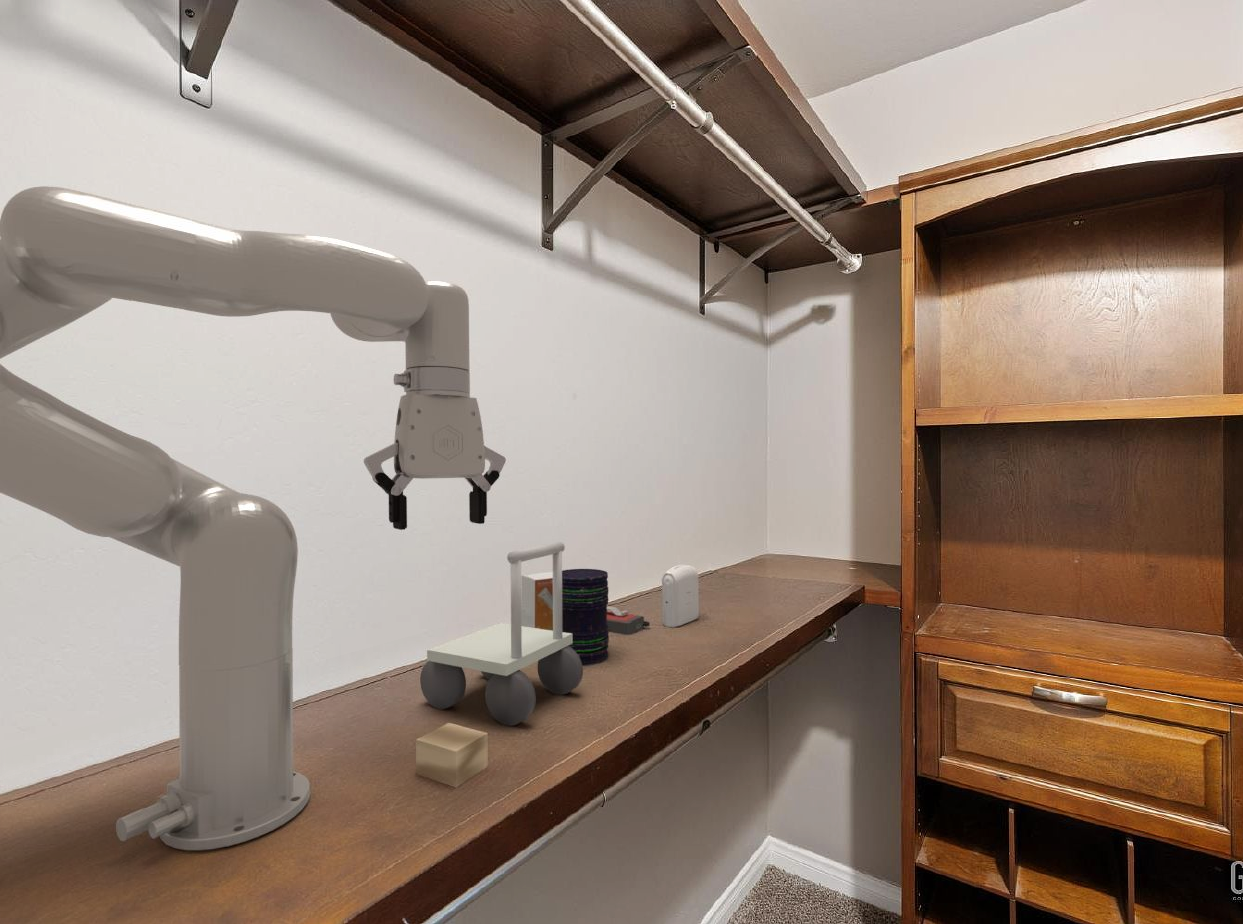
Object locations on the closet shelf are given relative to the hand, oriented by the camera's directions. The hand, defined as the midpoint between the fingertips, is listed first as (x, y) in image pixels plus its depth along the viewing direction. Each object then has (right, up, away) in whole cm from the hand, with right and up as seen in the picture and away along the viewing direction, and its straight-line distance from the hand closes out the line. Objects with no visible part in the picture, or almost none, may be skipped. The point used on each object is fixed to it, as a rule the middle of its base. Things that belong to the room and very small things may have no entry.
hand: (439, 525), depth 74 cm
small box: (+8, -27, +44) cm, 52 cm away
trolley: (+5, -27, +15) cm, 31 cm away
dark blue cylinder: (+15, -27, +34) cm, 46 cm away
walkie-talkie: (+19, -28, +56) cm, 65 cm away
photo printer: (+35, -27, +57) cm, 73 cm away
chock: (+3, -27, -6) cm, 28 cm away
